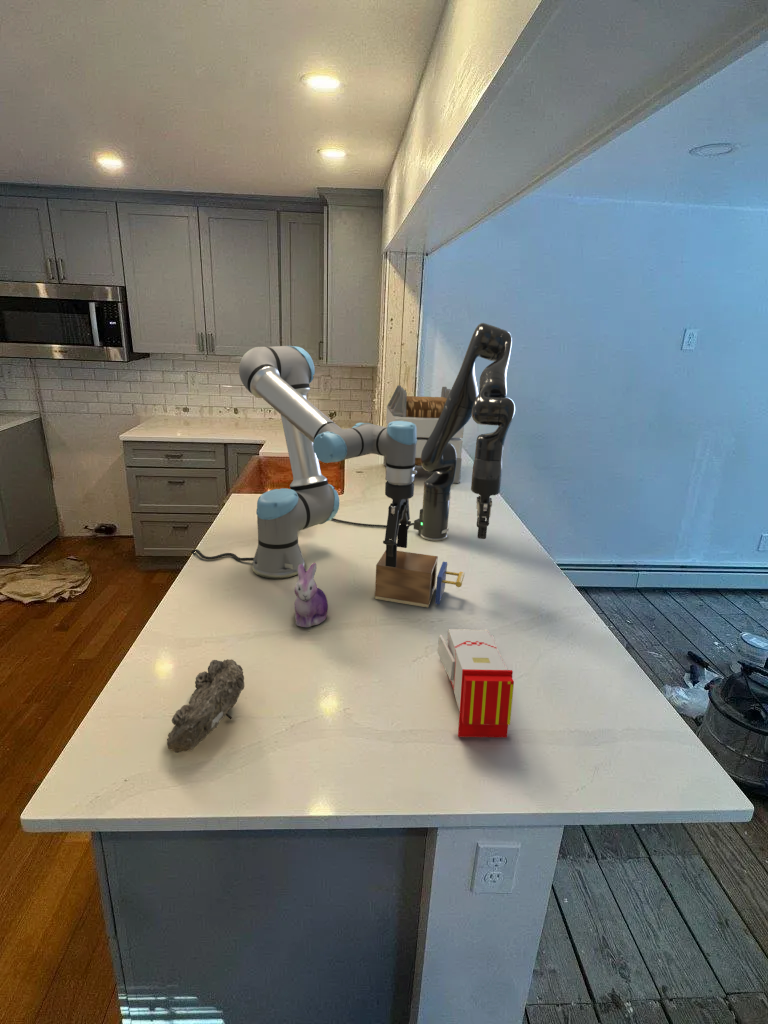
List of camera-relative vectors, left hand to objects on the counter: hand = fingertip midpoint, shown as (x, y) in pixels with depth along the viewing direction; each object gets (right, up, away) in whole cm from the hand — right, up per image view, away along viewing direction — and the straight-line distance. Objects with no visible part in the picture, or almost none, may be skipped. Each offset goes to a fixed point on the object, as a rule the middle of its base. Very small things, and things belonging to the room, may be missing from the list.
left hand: (396, 556), depth 155 cm
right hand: (+23, +7, -2) cm, 24 cm away
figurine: (-22, -15, -12) cm, 29 cm away
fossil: (-36, -27, -47) cm, 65 cm away
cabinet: (+3, -11, +3) cm, 12 cm away
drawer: (+9, -10, +2) cm, 14 cm away
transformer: (+14, +31, +120) cm, 125 cm away
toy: (+15, -26, -36) cm, 47 cm away
